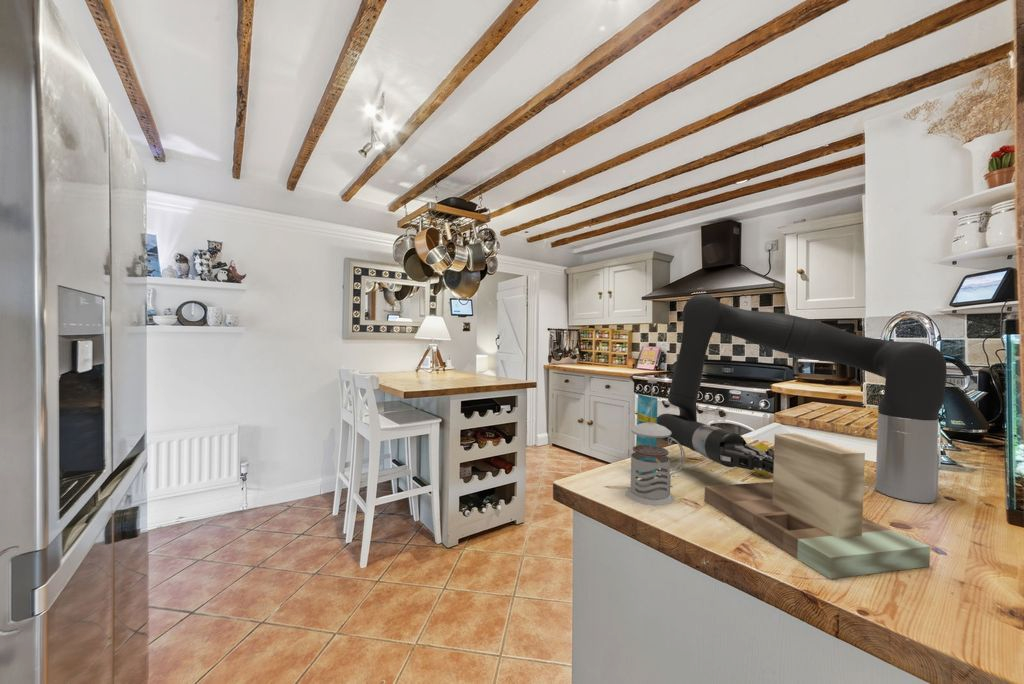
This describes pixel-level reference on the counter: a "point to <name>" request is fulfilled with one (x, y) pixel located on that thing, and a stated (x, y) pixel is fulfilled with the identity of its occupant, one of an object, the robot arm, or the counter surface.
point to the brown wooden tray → (818, 535)
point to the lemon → (763, 448)
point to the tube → (646, 421)
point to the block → (819, 483)
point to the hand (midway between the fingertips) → (784, 470)
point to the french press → (651, 465)
